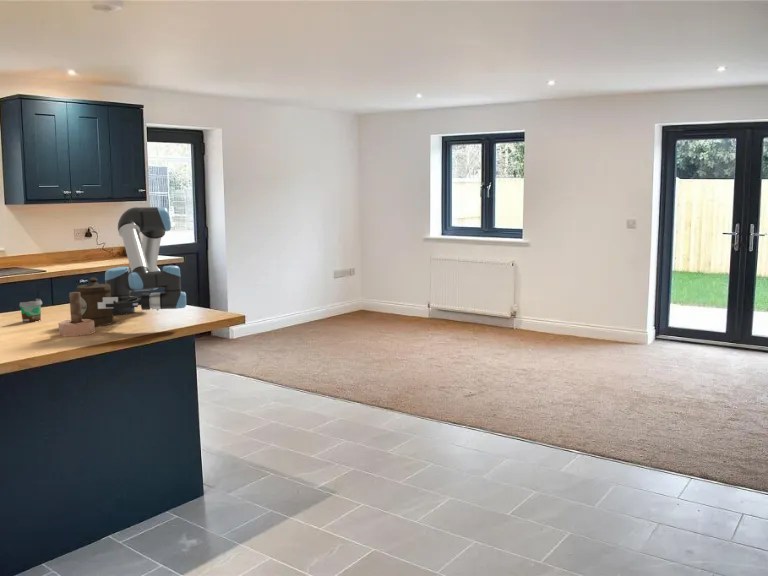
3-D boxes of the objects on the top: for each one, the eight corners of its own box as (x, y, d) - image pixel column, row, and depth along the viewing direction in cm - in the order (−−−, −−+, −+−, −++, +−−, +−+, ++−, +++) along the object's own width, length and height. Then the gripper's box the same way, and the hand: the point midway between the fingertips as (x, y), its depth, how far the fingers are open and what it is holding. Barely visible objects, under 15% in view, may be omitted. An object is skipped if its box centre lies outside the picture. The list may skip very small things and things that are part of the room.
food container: (32, 323, 337) (30, 302, 336) (20, 323, 339) (19, 302, 337) (49, 319, 349) (47, 298, 348) (38, 318, 351) (36, 298, 349)
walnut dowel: (80, 331, 318) (77, 291, 315) (84, 332, 315) (81, 292, 312) (70, 332, 315) (67, 292, 312) (74, 334, 312) (71, 293, 309)
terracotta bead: (86, 328, 324) (86, 317, 324) (98, 332, 314) (97, 321, 314) (56, 332, 315) (55, 321, 314) (67, 337, 305) (66, 325, 305)
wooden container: (79, 321, 342) (76, 276, 338) (112, 319, 347) (110, 274, 344) (78, 327, 328) (75, 280, 325) (113, 325, 333) (110, 278, 330)
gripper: (148, 314, 308) (96, 316, 304) (153, 304, 333) (105, 306, 328) (147, 297, 307) (95, 299, 303) (152, 289, 331) (104, 290, 327)
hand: (100, 303), depth 315 cm, fingers open, 13 cm apart
